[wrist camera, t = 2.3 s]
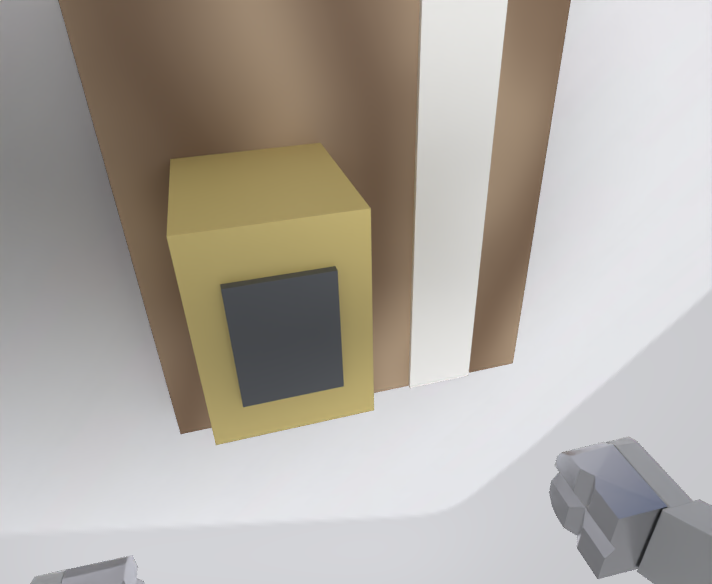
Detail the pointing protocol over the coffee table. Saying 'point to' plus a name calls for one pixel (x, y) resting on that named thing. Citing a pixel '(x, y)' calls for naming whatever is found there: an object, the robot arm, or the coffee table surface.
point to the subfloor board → (341, 149)
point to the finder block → (274, 286)
